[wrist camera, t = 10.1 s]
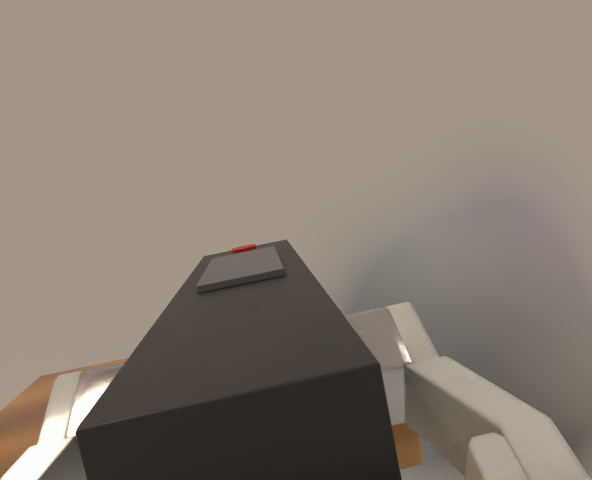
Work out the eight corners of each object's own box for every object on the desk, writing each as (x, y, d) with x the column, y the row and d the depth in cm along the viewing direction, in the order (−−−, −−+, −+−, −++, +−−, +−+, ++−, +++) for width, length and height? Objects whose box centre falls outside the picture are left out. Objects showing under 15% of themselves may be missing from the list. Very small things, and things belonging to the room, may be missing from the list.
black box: (406, 503, 8) (376, 342, 8) (109, 575, 7) (67, 409, 7) (295, 280, 28) (285, 233, 27) (212, 297, 27) (202, 250, 27)
